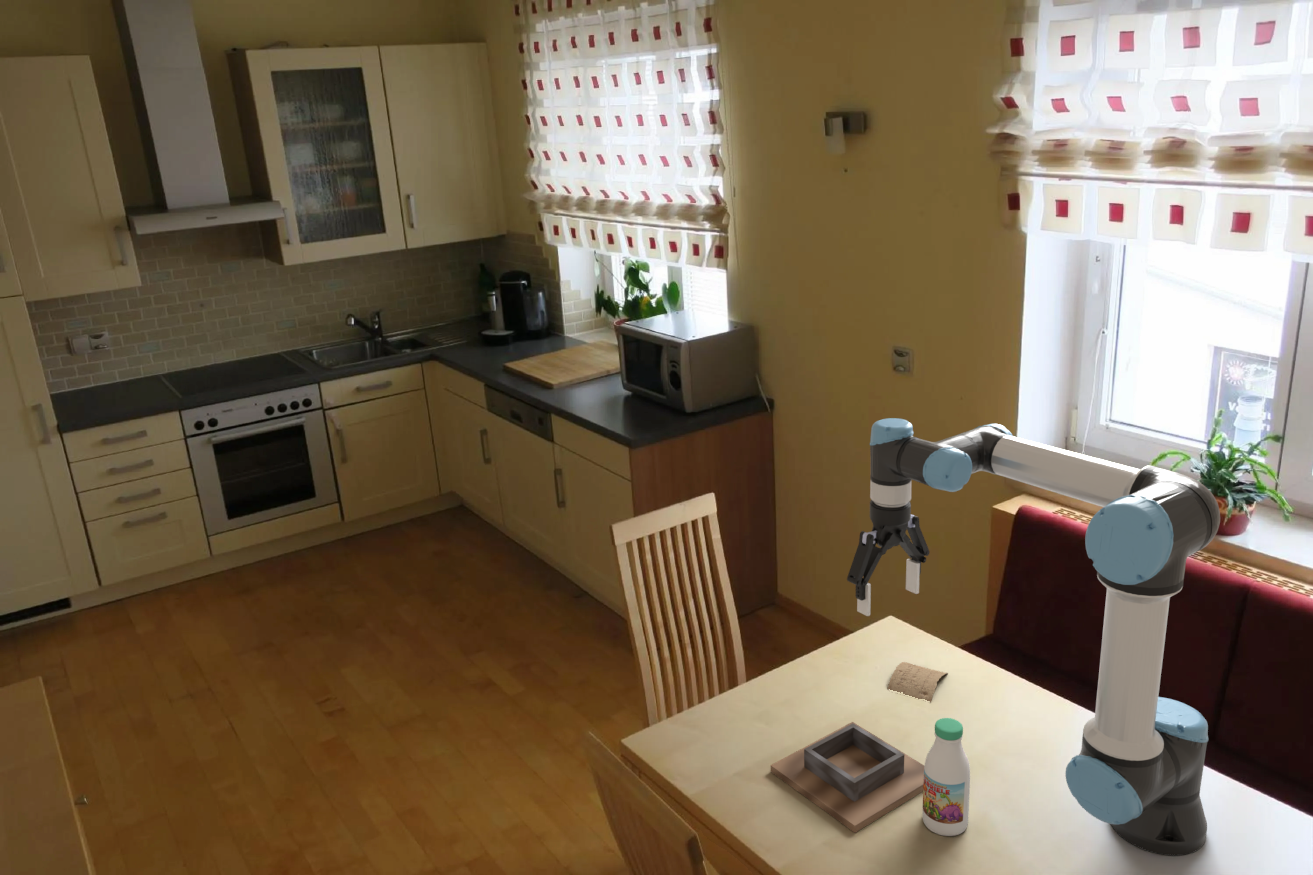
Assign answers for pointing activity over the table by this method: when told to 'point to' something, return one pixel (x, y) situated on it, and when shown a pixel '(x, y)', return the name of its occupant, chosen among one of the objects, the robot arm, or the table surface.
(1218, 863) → the table surface
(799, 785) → the bottle stand
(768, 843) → the table surface
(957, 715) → the table surface
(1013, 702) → the table surface
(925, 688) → the clay tablet
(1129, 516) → the robot arm
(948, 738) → the milk bottle
